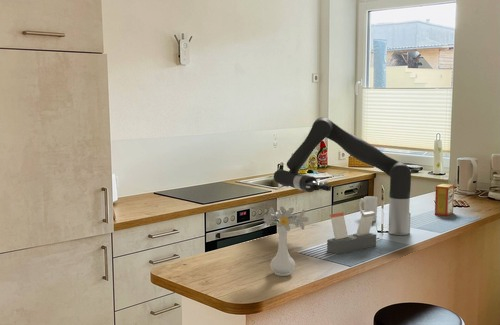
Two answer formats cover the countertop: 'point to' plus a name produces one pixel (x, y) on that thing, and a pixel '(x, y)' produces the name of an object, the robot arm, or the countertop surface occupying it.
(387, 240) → the countertop surface
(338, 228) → the panel
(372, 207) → the mug
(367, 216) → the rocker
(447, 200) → the baking soda box
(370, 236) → the gray rectangular block
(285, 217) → the flower vase
